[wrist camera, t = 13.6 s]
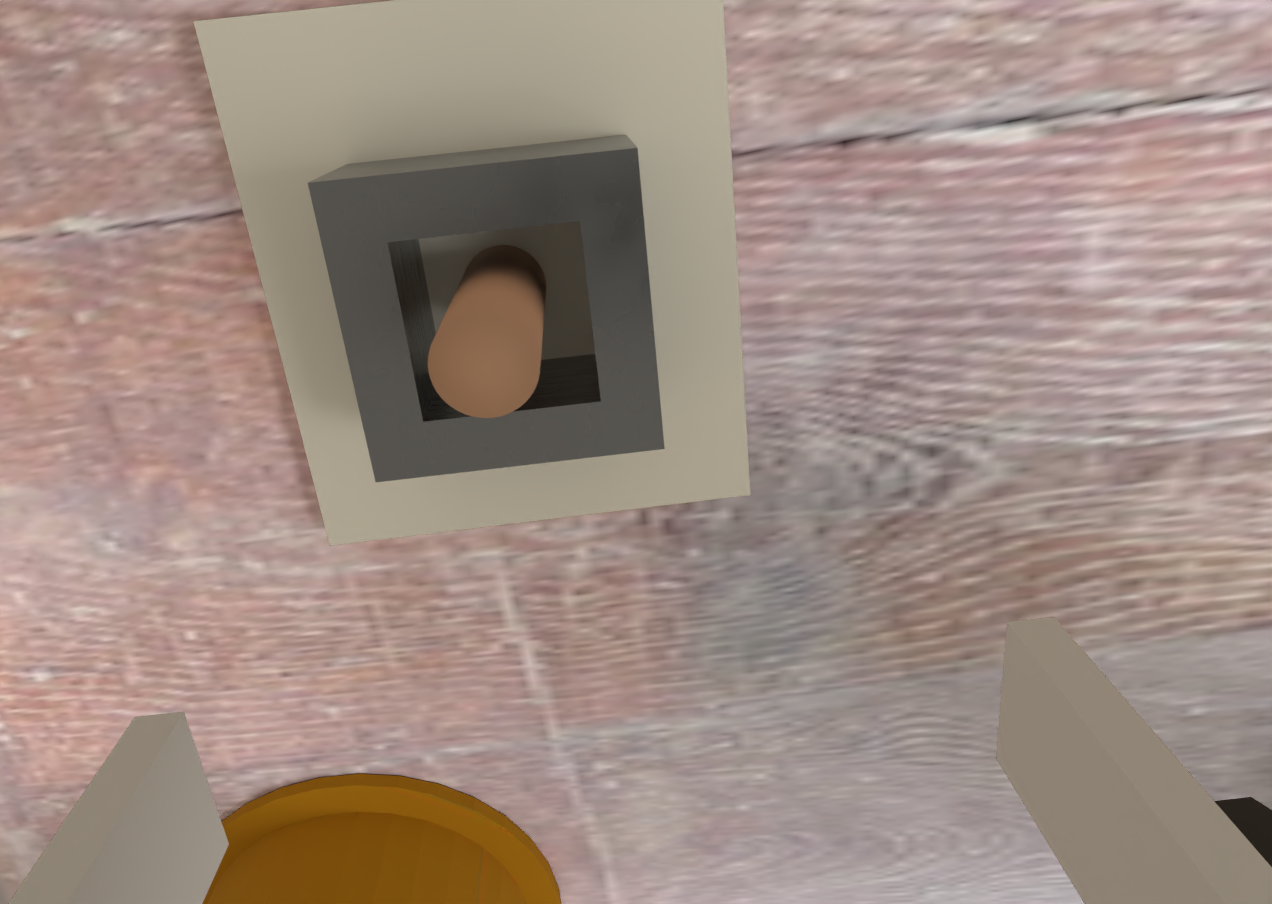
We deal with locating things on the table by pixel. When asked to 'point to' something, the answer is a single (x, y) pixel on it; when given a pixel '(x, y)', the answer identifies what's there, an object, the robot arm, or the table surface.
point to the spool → (377, 848)
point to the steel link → (403, 322)
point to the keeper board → (495, 232)
